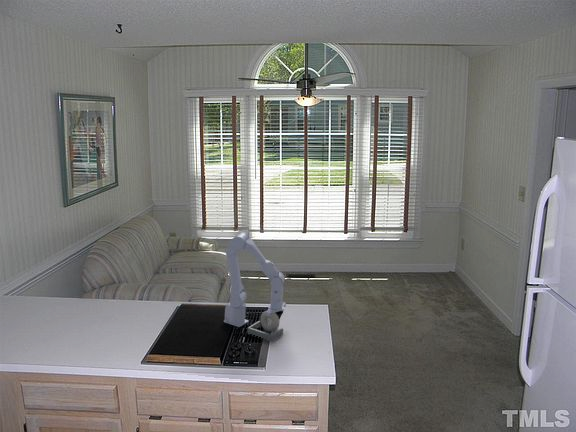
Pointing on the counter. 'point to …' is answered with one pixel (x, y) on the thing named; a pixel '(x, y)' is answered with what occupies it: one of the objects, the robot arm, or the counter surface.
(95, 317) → the counter surface
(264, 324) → the donut
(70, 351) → the counter surface
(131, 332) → the counter surface
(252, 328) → the bracket
